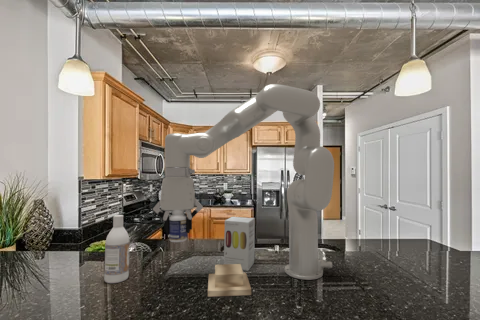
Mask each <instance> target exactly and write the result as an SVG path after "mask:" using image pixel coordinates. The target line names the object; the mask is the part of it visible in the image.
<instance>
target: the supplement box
mask: <svg viewBox="0 0 480 320" xmlns="http://www.w3.org/2000/svg"><path fill="white" fill-rule="evenodd" d="M255 219H256V218H255V217H244V216H243V217H241V216H240V217H239V216H231V217H229V218H226V219H225V220H224V231H223V232H224V236H223V240H224V241H223V244H224V245H223V264H241V267H242V271H246V272H247V271H249V270H250V269H251V267H252V266H253V265H254V263H255V236H256V233H255V232H256V231H255V228H256V226H255V225H256V220H255Z"/></svg>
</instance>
